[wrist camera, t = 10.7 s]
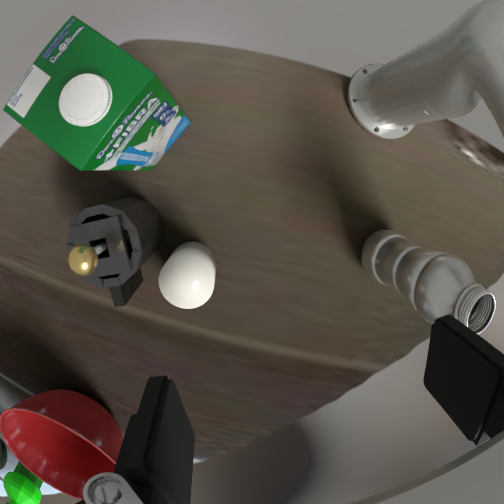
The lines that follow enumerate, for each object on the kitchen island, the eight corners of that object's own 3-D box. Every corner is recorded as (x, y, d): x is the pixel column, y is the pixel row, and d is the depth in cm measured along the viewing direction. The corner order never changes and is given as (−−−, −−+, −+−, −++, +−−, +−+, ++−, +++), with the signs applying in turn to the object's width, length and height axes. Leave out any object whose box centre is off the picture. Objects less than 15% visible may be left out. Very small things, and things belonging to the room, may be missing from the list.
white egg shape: (211, 237, 45) (208, 251, 37) (220, 282, 47) (218, 304, 39) (165, 246, 45) (152, 260, 37) (175, 290, 46) (166, 312, 39)
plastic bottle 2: (358, 281, 48) (448, 364, 24) (352, 231, 46) (455, 287, 22) (400, 269, 49) (500, 335, 24) (395, 220, 46) (509, 263, 22)
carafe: (155, 190, 43) (128, 197, 30) (172, 270, 46) (153, 305, 33) (98, 204, 42) (56, 216, 30) (116, 280, 45) (83, 314, 33)
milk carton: (150, 171, 42) (65, 172, 18) (107, 135, 40) (1, 109, 16) (191, 122, 41) (148, 63, 16) (146, 87, 39) (71, 13, 14)
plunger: (142, 206, 41) (94, 226, 25) (151, 248, 42) (111, 290, 26) (104, 215, 40) (44, 239, 25) (113, 255, 42) (60, 297, 26)
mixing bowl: (54, 444, 54) (33, 485, 39) (13, 353, 47) (-24, 393, 32) (156, 463, 57) (147, 515, 42) (131, 370, 50) (106, 429, 35)
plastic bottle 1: (35, 430, 53) (-2, 497, 29) (66, 456, 55) (37, 525, 31) (22, 438, 54) (-12, 499, 30) (51, 462, 56) (23, 525, 32)
